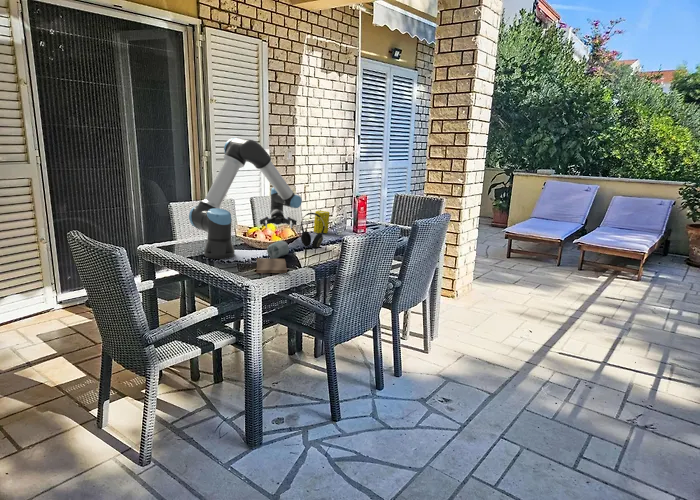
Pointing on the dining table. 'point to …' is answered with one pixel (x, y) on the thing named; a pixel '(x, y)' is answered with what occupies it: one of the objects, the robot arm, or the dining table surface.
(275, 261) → the stand
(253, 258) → the dining table surface
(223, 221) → the robot arm
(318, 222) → the food
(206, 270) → the dining table surface
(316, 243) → the headphones
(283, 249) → the grey rounded cylinder
